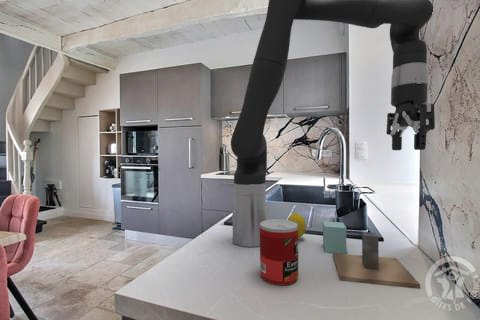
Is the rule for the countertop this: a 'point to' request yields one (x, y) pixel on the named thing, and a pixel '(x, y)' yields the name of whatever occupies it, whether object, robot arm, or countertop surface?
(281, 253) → the canned food
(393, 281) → the stand
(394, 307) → the countertop surface
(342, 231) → the mint foam cube
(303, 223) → the lemon
